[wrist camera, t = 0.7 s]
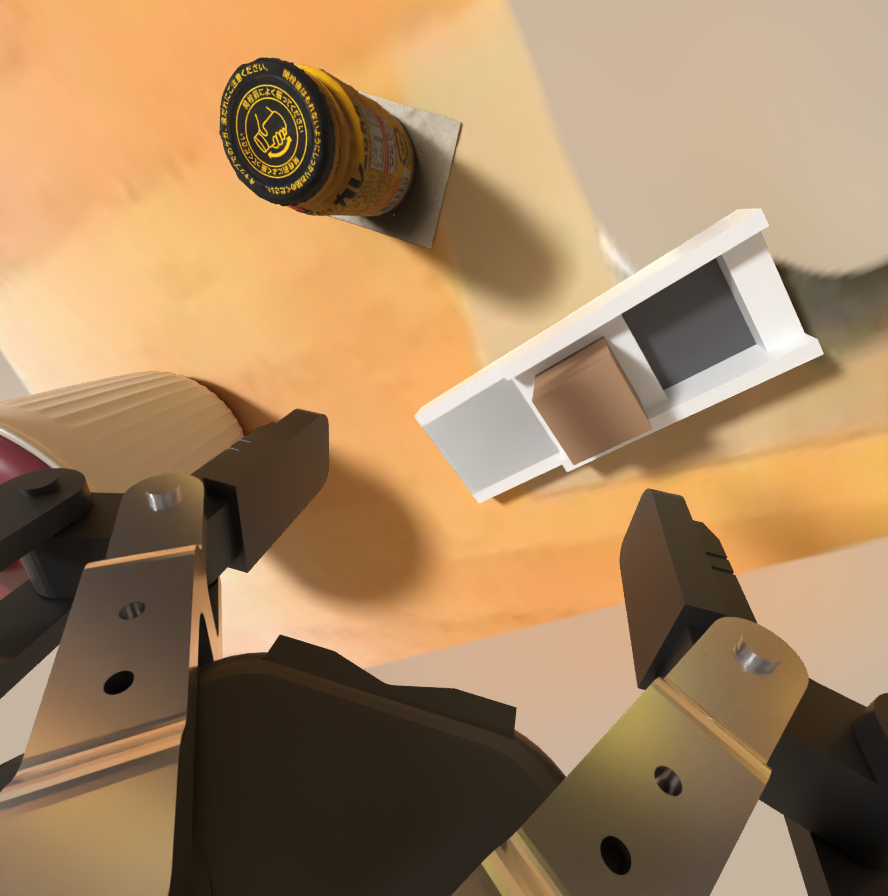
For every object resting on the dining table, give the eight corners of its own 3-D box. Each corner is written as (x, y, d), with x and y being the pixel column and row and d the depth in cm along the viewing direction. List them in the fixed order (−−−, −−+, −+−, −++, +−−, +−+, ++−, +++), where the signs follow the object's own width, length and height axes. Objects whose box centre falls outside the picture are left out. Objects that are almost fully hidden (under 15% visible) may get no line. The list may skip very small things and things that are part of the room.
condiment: (332, 83, 28) (196, 4, 17) (461, 122, 27) (401, 65, 17) (318, 212, 31) (199, 210, 21) (432, 248, 31) (367, 265, 20)
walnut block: (603, 335, 29) (611, 357, 25) (639, 398, 30) (652, 428, 26) (535, 375, 31) (531, 401, 27) (571, 432, 32) (573, 465, 28)
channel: (737, 209, 26) (761, 208, 23) (795, 339, 28) (823, 354, 25) (421, 407, 36) (408, 424, 33) (482, 490, 39) (476, 514, 36)
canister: (168, 516, 49) (-62, 693, 31) (76, 357, 42) (-294, 466, 24) (309, 505, 44) (132, 711, 26) (232, 320, 37) (-91, 426, 18)
